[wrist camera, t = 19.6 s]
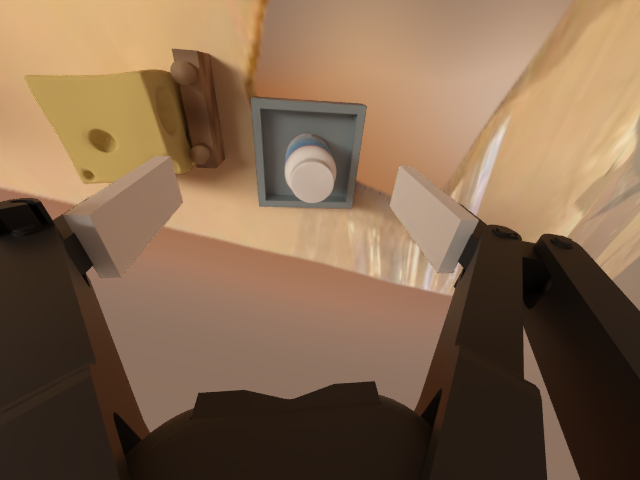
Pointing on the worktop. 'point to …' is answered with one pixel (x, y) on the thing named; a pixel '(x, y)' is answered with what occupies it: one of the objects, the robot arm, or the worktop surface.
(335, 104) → the tray
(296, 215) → the worktop surface
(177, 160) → the cheese
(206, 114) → the stop rail
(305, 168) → the pill bottle
